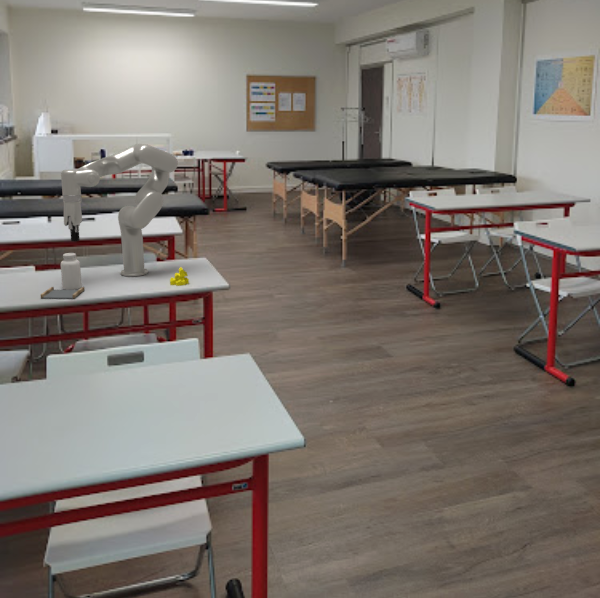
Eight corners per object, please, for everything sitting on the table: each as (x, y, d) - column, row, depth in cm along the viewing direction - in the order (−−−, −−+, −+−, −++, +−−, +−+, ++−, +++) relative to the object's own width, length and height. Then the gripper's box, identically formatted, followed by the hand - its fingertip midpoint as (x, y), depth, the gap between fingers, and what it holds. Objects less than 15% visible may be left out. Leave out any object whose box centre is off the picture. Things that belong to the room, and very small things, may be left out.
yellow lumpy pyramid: (169, 283, 302) (168, 266, 300) (187, 281, 305) (186, 264, 303) (171, 286, 297) (170, 269, 295) (189, 284, 300) (189, 267, 298)
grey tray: (52, 290, 290) (52, 289, 290) (84, 291, 290) (84, 289, 290) (40, 298, 279) (40, 297, 279) (74, 299, 278) (74, 297, 278)
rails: (52, 290, 290) (51, 286, 290) (84, 291, 290) (84, 287, 289) (40, 298, 279) (40, 294, 278) (74, 299, 278) (74, 294, 278)
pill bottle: (76, 290, 290) (73, 256, 286) (59, 289, 292) (55, 255, 288) (85, 286, 298) (82, 252, 294) (68, 285, 299) (65, 251, 295)
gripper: (69, 196, 301) (72, 237, 306) (57, 201, 287) (60, 244, 292) (86, 196, 301) (89, 238, 306) (74, 201, 287) (77, 244, 292)
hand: (75, 240), depth 299 cm, fingers closed
